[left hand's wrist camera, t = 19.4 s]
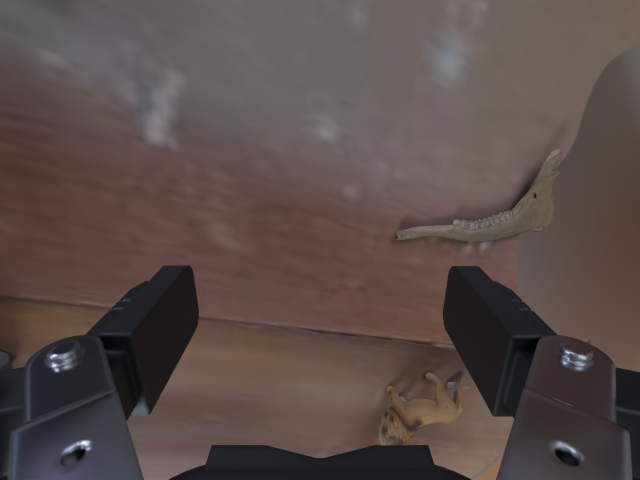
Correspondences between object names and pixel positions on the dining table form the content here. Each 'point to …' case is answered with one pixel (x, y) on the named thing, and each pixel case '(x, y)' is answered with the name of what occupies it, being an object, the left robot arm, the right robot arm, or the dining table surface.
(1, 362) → the handheld gaming console
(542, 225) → the jawbone
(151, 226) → the dining table surface
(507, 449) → the left robot arm
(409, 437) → the lion figurine
